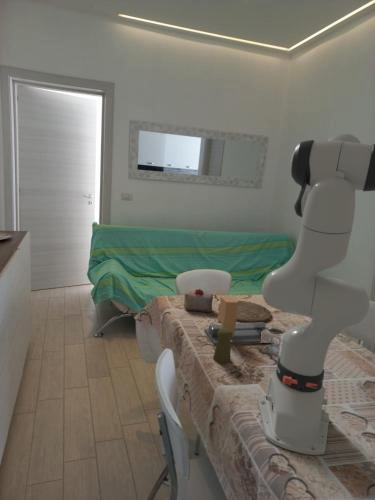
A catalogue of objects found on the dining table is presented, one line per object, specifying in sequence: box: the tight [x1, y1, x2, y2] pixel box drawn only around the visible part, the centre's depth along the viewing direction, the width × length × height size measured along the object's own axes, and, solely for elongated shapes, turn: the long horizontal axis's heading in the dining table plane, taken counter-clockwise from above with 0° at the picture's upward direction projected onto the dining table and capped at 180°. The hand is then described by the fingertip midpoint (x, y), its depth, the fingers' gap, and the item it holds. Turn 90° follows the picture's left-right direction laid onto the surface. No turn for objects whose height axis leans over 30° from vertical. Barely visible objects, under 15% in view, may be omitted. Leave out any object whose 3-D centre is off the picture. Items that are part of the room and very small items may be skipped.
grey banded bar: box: [208, 322, 268, 338], centre depth 136 cm, size 23×4×5 cm, turn 105°
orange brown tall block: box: [217, 296, 239, 337], centre depth 134 cm, size 5×6×14 cm
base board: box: [203, 328, 261, 346], centre depth 137 cm, size 24×12×1 cm, turn 105°
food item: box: [183, 288, 214, 314], centre depth 162 cm, size 14×8×10 cm, turn 85°
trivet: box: [217, 299, 272, 323], centre depth 164 cm, size 25×25×2 cm
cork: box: [212, 328, 233, 365], centre depth 118 cm, size 6×6×11 cm
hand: (295, 274), depth 122 cm, fingers closed
